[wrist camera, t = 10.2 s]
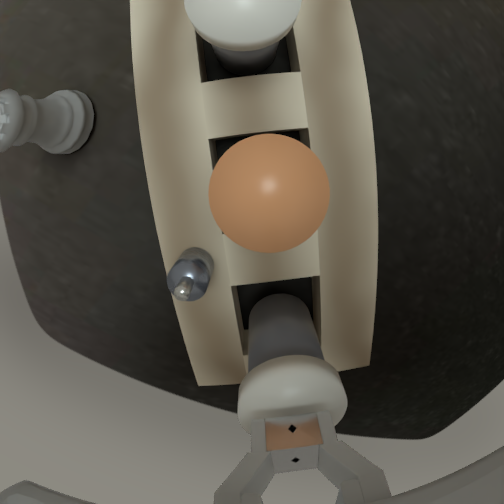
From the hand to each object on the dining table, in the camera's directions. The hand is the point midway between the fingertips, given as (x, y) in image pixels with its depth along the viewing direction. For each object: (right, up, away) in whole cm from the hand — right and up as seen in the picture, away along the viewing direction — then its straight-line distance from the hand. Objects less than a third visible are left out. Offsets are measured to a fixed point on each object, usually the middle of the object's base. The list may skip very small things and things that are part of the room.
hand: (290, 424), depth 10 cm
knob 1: (-2, +19, +5) cm, 19 cm away
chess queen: (-14, +15, +6) cm, 22 cm away
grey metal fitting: (-5, +6, +6) cm, 10 cm away
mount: (-1, +11, +8) cm, 14 cm away
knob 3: (0, +3, +7) cm, 8 cm away
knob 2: (-1, +11, +7) cm, 13 cm away
